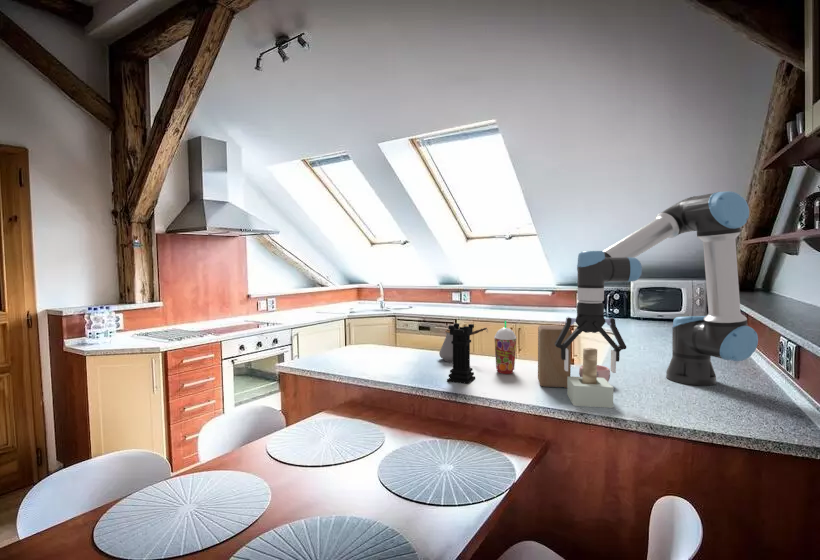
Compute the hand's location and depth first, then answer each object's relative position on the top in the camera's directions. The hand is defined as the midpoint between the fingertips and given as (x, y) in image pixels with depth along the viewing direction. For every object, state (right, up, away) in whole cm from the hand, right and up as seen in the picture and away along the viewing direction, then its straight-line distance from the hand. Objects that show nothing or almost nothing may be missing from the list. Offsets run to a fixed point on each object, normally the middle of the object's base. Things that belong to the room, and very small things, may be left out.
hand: (589, 371), depth 137 cm
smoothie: (-18, -8, +36) cm, 41 cm away
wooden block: (-5, -9, +20) cm, 22 cm away
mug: (+10, -9, +20) cm, 24 cm away
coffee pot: (-32, -7, +56) cm, 65 cm away
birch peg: (0, -8, 0) cm, 8 cm away
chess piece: (-36, -9, +25) cm, 45 cm away
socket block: (0, -9, 0) cm, 9 cm away
